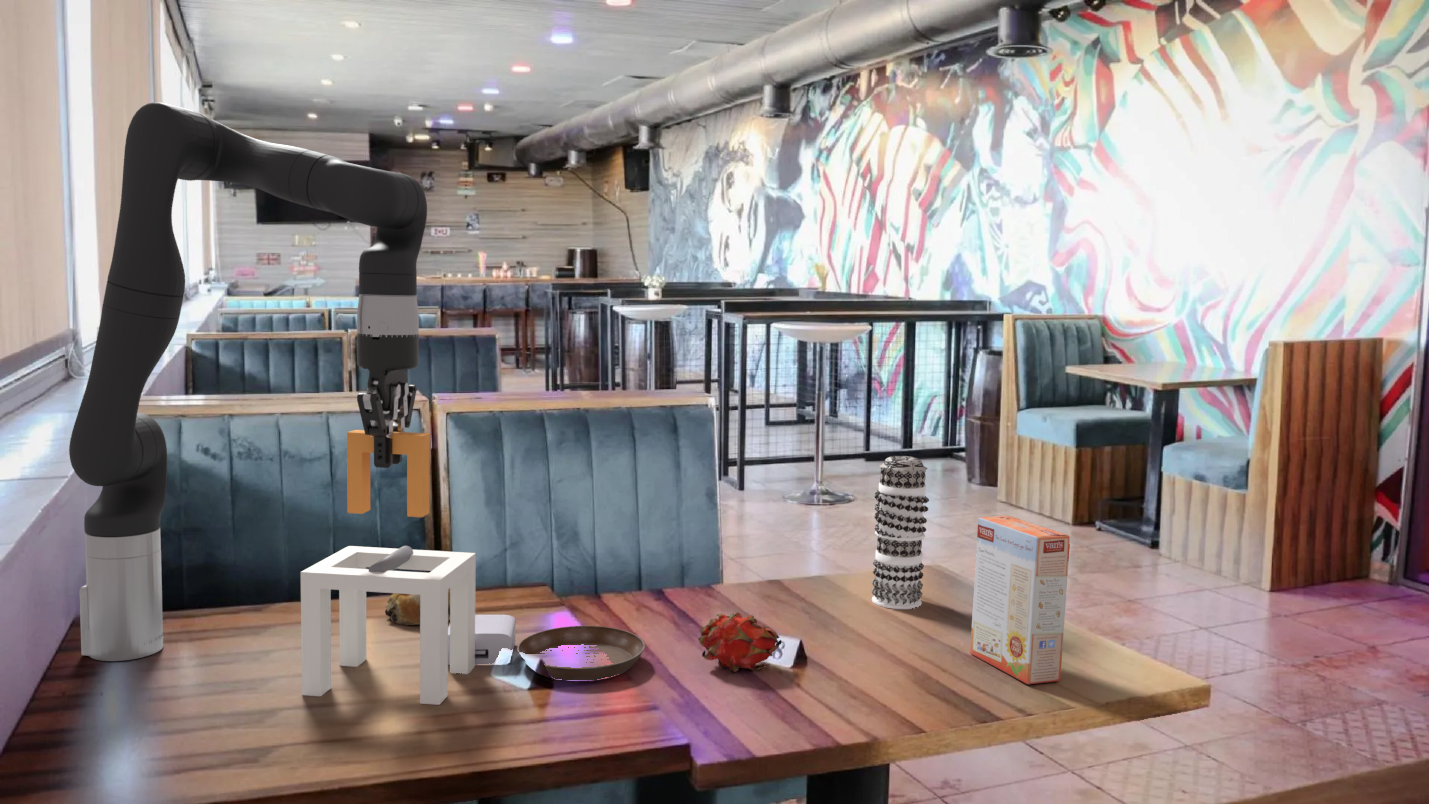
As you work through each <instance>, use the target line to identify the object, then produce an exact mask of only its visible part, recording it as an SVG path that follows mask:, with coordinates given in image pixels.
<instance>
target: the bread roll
mask: <svg viewBox="0 0 1429 804" xmlns="http://www.w3.org/2000/svg"><path fill="white" fill-rule="evenodd" d="M384 613H385V616H387V617H390V621H392V622H393V623H395V622H397V623H396V624H398V625H402V624H404V625H405V626H408V625H417V626H420V595H416V594H400V593H391V595H390V596H389V598H388V601H387V603H386V604H385V610H384ZM448 620H450V588H449V589H448Z"/></svg>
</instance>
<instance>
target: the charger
mask: <svg viewBox="0 0 1429 804" xmlns="http://www.w3.org/2000/svg"><path fill="white" fill-rule="evenodd" d="M516 623H517V621H516V618H515V617H514V616H512V615H509V614H475V664H489V663H490V664H492V663H494V662H495V660H496V658H497V657H498V655H499V651H501V649H502V648H508V649H510V650H512V649H513V650H514V649H515V645H516V644H515V643H516ZM448 665H450V624H448Z"/></svg>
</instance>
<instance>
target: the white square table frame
mask: <svg viewBox="0 0 1429 804" xmlns="http://www.w3.org/2000/svg"><path fill="white" fill-rule="evenodd" d="M476 559H477V558H476V552H463V551H446V550H430V549H426V550H425V549H413V548H412V547H410V546H408V545H403V546H401V547H399V548H395V547H393V548H391V547H390V548H389V547H377V546H376V547H374V546H373V547H372V546H360V545H359V546H358V545H356V546H355V545H348V546H346V547H344V548H342V549H340V550H339V551H337V552H335V553H333V554H331V555H330V556H328V557H325V558H323V559H322V560H320V561H318V562H316V563H314V564H313V565H311V566H309V567H307V568H305V569H304V570H302V571H300V632H301V634H300V636H301V637H300V639H301V641H300V643H301V646H300V647H301V648H300V649H301V652H300V653H301V696H307V697H308V696H310V697H322V696H323V695H324V694H326V693H327V692H328V691H330V690H331V689H332V615H331V613H332V612H331V610H332V608H331V607H332V605H331V604H332V602H331V601H332V599H331V597H332V596H331V594H332V593H331V592H332V590H335V591H336V590H337V591H339V593H338V595H339V597H338V599H339V601H338V602H339V610H338V611H339V666H341V667H355V668H358V667H359V666H360V665H362V664H363V663H364V662H365V661H367V592H369V593H370V592H371V593H382V594H383V593H386V594H393V593H400V594H416V595H420V625H419V651H420V653H419V679H420V680H419V704H421V705H422V704H423V705H438V706H440V705H441V704H442V703H443V702H444V701H445V700H446V698H447V697H448V696H449V695H448V683H449V681H448V680H449V679H448V676H449V674H448V673H450V672H452V673H451V674H456V673H460V674H461V673H462V674H461V675H469V674H470V672H472V670H473V669H474V668H475V667H476V665H475V615H476V570H477V569H476V568H477V567H476V566H477V565H476V563H477V562H476V561H477V560H476ZM402 570H403V571H402ZM405 570H408V571H405ZM410 570H411V571H410ZM423 571H424V572H423ZM426 571H428V572H426ZM429 571H430V572H429ZM448 589H449V590H450V621H448ZM449 625H450V666H448V627H449ZM474 666H475V667H474ZM473 667H474V668H473ZM472 668H473V669H472ZM453 672H454V673H453ZM468 673H469V674H468ZM460 674H459V675H460Z"/></svg>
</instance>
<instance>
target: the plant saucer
mask: <svg viewBox="0 0 1429 804" xmlns="http://www.w3.org/2000/svg"><path fill="white" fill-rule="evenodd" d="M581 644H584V645H597V646H595V647H591V646H589V648H599V649H598V650H594V649H593V650H586V651H604V653H605V654H607V656H606V657H609V659H607V660H610V661H611V663H613V664H610V665H604V666H597V667H582V668H571V667H557V666H550V665H545V664H544V665H545V667H546V670H547V671H548V672H549V674H550V675H551V676H552V677H553V678H555V679H562V680H597V679H601V678H605V677H611V676H614V675H617V674H620V675H622V674H624V673H625V672H627V671H628V670H630V669H631V668H632V667H633V666H634V664H635V663H636V662H637V661H639V660H638V659H640V657H641V656H642V654H643V653H644V650H645V647H646V645H645V641H644V640H643V638H641V636H638V634H635V633H633V632H630V631H628V630H623V629H621V628H615V627H609V626H599V625H573V626H572V625H571V626H569V625H568V626H560V627H555V628H551V629H545V630H541V631H539V632H535V633H532V634H531V635H528V636H527V637H525V638H523V639H522V640H521V641H520V642H519V643H518V645H517V647H516V648H517V649H516V650H517V653H518V652H523V653H525V654H545V653H540V652H542V651H545V650H546V649H549V648H558V646H561V645H581ZM568 648H569V647H568ZM574 648H575V647H574ZM584 648H586V647H584ZM546 651H547V650H546ZM550 651H552V650H550ZM562 651H563V650H562ZM578 651H579V650H578ZM584 651H585V650H584ZM604 653H603V654H604ZM576 654H578V653H576ZM585 654H590V653H585ZM593 654H599V653H595V652H594V653H593ZM586 657H590V656H586ZM594 657H596V656H595V655H594ZM587 660H588V659H587ZM593 660H594V659H593ZM601 660H602V659H601ZM586 663H587V662H586ZM590 663H594V662H590ZM621 673H622V674H621Z"/></svg>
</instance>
